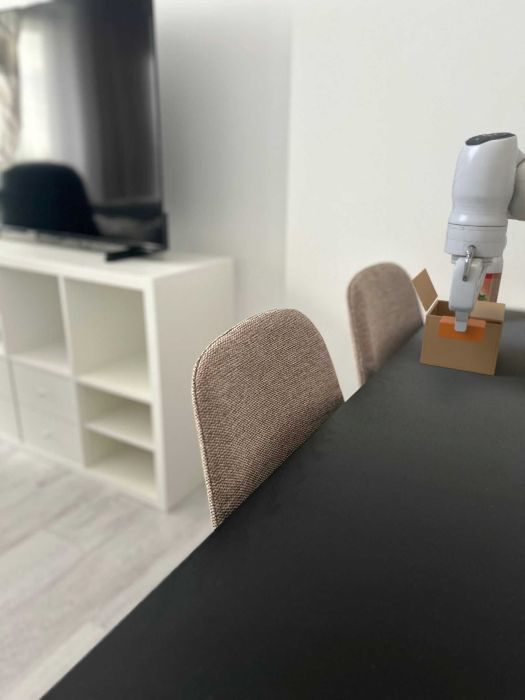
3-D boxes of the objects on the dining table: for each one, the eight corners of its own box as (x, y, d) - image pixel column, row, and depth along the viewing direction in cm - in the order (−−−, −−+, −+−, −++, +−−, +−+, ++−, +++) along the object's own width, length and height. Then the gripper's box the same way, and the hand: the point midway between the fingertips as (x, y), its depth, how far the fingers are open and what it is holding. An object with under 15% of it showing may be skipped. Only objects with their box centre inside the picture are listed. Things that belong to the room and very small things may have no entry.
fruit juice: (501, 321, 127) (523, 204, 118) (467, 322, 125) (486, 203, 116) (479, 311, 136) (498, 201, 126) (447, 312, 134) (463, 201, 125)
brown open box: (493, 375, 92) (503, 320, 89) (419, 363, 97) (426, 310, 94) (497, 353, 104) (506, 303, 101) (430, 343, 109) (437, 295, 106)
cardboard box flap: (413, 279, 93) (411, 280, 94) (427, 311, 94) (425, 311, 94) (425, 268, 105) (423, 268, 105) (438, 296, 106) (436, 296, 106)
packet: (482, 342, 83) (484, 327, 83) (437, 336, 86) (439, 321, 85) (483, 335, 87) (486, 320, 86) (441, 329, 90) (442, 315, 89)
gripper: (492, 252, 71) (477, 346, 76) (498, 237, 89) (485, 314, 93) (445, 249, 74) (433, 340, 79) (459, 235, 91) (449, 310, 96)
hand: (462, 325), depth 86 cm, fingers closed on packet, 4 cm apart
